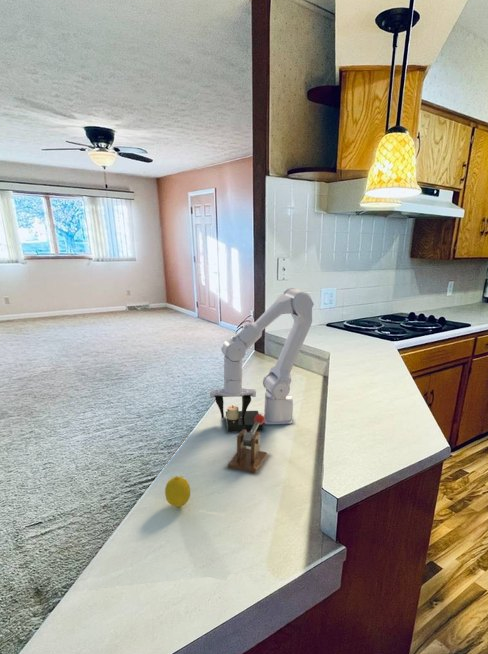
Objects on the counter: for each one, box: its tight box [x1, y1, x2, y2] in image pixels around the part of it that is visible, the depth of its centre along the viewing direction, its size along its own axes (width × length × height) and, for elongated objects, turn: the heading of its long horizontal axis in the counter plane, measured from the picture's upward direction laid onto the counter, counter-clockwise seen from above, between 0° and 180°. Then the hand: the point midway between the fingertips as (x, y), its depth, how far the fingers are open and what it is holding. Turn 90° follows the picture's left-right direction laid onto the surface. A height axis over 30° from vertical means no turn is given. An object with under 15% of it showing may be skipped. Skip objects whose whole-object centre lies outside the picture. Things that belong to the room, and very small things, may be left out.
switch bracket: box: [227, 429, 268, 474], centre depth 113 cm, size 10×8×9 cm
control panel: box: [220, 410, 263, 433], centre depth 135 cm, size 13×11×3 cm
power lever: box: [243, 413, 264, 448], centre depth 115 cm, size 12×3×3 cm, turn 164°
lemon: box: [164, 475, 191, 508], centre depth 93 cm, size 6×6×8 cm
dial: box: [226, 404, 239, 420], centre depth 134 cm, size 4×4×4 cm
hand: (232, 416), depth 134 cm, fingers open, 6 cm apart
